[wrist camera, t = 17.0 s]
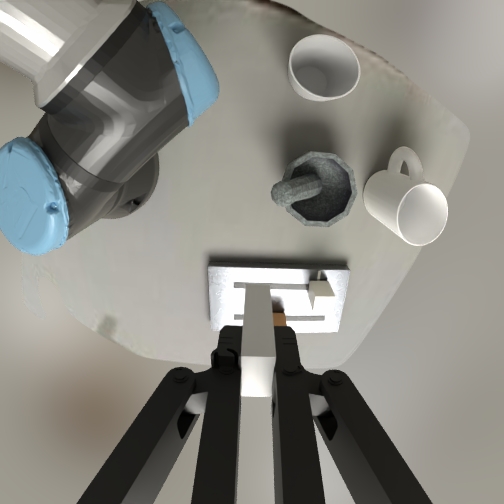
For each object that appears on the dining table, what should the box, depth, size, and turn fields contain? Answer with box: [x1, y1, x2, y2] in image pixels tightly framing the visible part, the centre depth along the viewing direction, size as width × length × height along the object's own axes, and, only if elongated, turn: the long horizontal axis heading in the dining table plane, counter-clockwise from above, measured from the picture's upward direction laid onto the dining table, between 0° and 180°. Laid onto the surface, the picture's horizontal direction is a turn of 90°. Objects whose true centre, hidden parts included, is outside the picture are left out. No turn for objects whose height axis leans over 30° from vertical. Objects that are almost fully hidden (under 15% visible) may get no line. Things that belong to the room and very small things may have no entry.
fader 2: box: [308, 281, 336, 312], centre depth 43 cm, size 3×3×5 cm
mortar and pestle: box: [271, 151, 357, 227], centre depth 36 cm, size 11×9×12 cm
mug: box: [363, 146, 448, 246], centre depth 35 cm, size 8×12×12 cm
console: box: [208, 261, 350, 332], centre depth 47 cm, size 22×12×2 cm, turn 88°
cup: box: [288, 34, 360, 101], centre depth 31 cm, size 8×8×10 cm
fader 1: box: [273, 313, 287, 326], centre depth 45 cm, size 3×3×5 cm
